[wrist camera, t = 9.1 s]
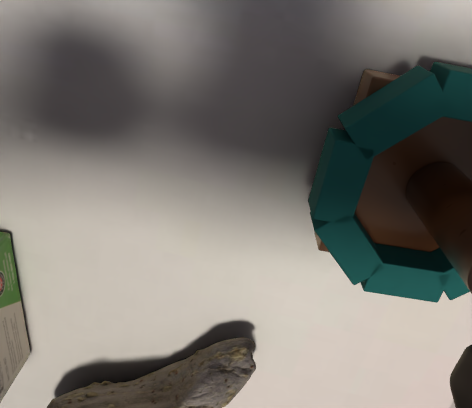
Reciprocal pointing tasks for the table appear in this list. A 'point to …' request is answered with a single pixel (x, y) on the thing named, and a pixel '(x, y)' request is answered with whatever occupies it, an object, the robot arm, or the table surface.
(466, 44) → the table surface
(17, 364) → the ink box
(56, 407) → the stone
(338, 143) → the ring
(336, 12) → the table surface
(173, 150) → the table surface
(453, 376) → the robot arm
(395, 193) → the peg stand
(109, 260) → the table surface
